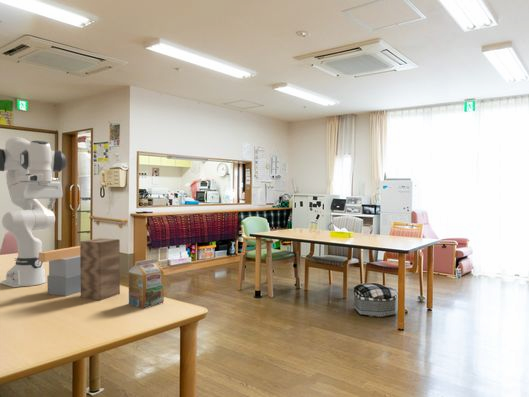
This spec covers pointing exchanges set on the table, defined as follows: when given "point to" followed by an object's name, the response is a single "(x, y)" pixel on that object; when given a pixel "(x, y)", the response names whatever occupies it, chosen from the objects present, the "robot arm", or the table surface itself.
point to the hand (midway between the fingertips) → (41, 209)
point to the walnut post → (100, 268)
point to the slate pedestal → (64, 276)
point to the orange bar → (59, 254)
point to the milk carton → (146, 284)
